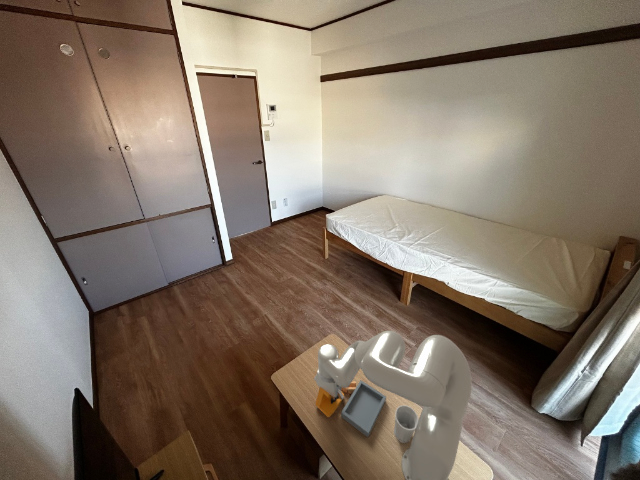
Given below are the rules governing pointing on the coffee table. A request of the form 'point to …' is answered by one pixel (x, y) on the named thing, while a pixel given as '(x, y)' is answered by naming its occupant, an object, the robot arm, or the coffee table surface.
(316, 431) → the coffee table surface
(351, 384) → the clip
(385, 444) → the coffee table surface
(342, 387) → the clip
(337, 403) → the bracket
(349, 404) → the gray tray
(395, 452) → the coffee table surface
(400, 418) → the cup
